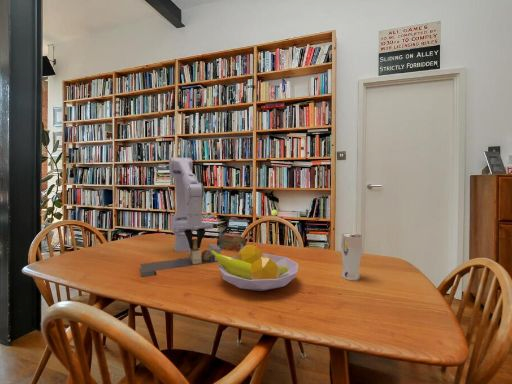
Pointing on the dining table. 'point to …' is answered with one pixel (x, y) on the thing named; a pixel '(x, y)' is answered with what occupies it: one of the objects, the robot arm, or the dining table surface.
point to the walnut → (206, 255)
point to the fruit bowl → (256, 269)
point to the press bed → (175, 263)
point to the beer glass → (351, 255)
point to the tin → (231, 242)
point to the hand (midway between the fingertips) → (194, 248)
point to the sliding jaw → (195, 252)
